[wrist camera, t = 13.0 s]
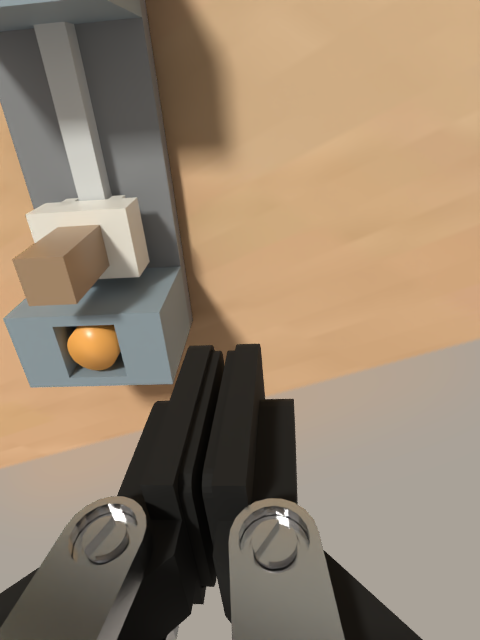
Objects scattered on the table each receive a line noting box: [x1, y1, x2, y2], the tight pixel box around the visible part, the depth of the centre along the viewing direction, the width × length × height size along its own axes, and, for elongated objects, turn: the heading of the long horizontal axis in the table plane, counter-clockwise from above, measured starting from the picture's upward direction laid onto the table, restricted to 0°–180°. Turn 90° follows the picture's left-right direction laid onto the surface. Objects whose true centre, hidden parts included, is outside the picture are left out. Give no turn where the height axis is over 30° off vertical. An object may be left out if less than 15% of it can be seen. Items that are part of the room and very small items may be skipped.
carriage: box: [12, 195, 150, 306], centre depth 29 cm, size 7×5×10 cm
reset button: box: [67, 325, 121, 370], centre depth 32 cm, size 4×4×3 cm
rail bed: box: [0, 0, 193, 387], centre depth 29 cm, size 12×29×10 cm, turn 4°
